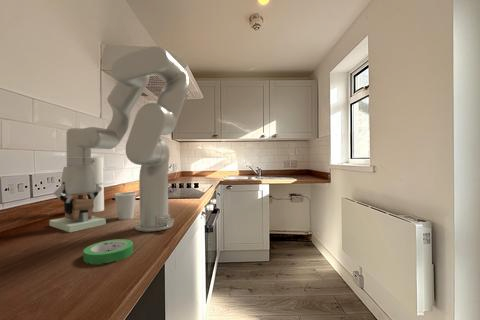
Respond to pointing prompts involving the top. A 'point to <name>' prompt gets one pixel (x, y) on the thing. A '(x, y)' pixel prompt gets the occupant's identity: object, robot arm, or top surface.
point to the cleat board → (77, 222)
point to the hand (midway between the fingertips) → (79, 211)
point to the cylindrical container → (98, 183)
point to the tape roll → (118, 247)
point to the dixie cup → (125, 204)
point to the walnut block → (80, 207)
